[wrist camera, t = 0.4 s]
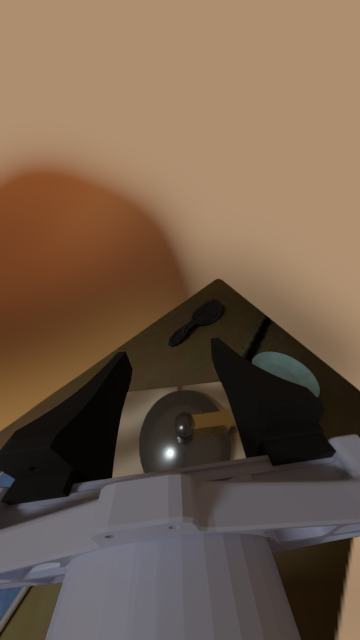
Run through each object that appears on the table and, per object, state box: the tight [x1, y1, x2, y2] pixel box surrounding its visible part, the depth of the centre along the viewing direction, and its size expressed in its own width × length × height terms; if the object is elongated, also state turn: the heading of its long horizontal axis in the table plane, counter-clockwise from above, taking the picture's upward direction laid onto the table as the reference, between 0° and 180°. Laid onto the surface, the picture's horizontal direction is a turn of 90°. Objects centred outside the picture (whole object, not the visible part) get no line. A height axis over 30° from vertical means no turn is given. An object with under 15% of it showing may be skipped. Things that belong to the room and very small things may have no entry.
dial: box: [139, 390, 232, 473], centre depth 21 cm, size 13×13×5 cm
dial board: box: [112, 382, 246, 478], centre depth 23 cm, size 16×22×2 cm
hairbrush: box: [169, 298, 223, 347], centre depth 46 cm, size 8×4×25 cm
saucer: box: [252, 352, 320, 398], centre depth 31 cm, size 12×12×2 cm
